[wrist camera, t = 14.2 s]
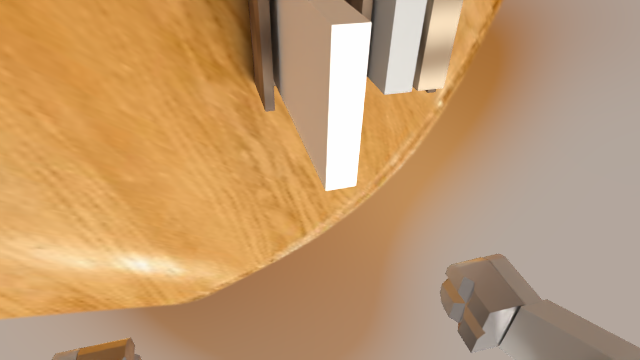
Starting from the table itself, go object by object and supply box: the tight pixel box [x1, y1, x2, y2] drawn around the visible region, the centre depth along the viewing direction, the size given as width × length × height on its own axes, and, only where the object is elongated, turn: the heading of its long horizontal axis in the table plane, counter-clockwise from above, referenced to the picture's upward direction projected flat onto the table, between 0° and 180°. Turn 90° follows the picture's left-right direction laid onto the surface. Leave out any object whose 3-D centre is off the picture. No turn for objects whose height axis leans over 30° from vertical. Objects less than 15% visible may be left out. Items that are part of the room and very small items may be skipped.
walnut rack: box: [248, 0, 436, 111], centre depth 43 cm, size 15×20×7 cm
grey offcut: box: [367, 0, 427, 95], centre depth 42 cm, size 10×3×10 cm, turn 178°
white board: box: [269, 0, 372, 191], centre depth 35 cm, size 12×2×22 cm, turn 178°
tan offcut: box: [412, 0, 463, 91], centre depth 43 cm, size 10×3×10 cm, turn 178°
